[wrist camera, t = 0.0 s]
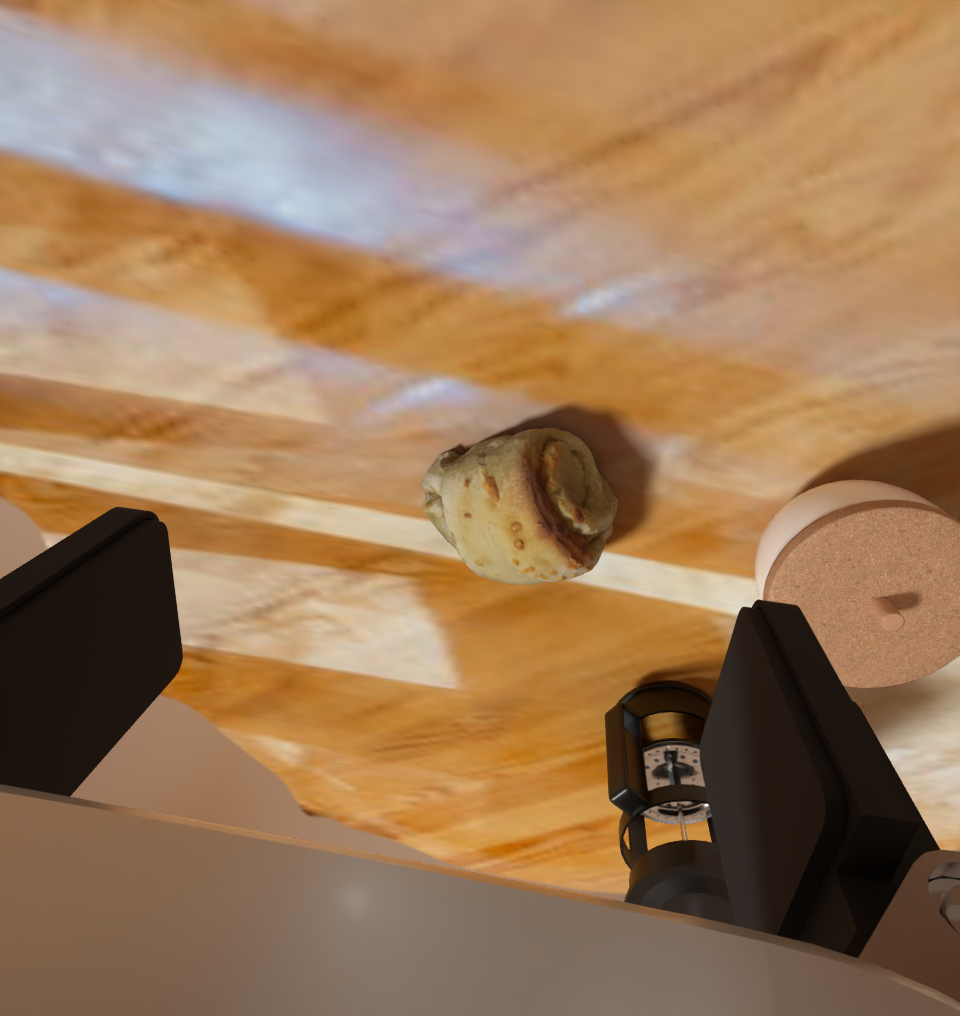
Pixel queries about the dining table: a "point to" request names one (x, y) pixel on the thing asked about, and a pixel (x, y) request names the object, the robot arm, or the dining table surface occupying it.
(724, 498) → the dining table surface
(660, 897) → the french press
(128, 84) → the dining table surface
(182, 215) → the dining table surface
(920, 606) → the lidded bowl
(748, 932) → the robot arm
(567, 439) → the pastry
